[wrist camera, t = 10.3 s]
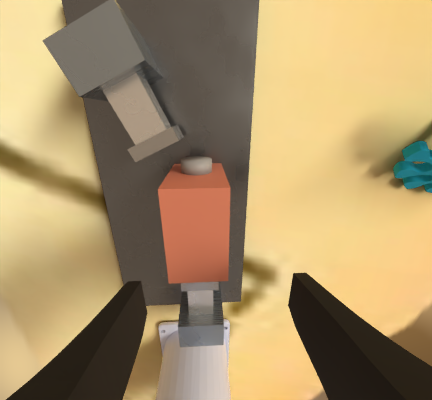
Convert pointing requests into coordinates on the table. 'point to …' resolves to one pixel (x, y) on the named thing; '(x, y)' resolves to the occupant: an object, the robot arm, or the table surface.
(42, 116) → the table surface
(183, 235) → the block
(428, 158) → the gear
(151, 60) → the stand
